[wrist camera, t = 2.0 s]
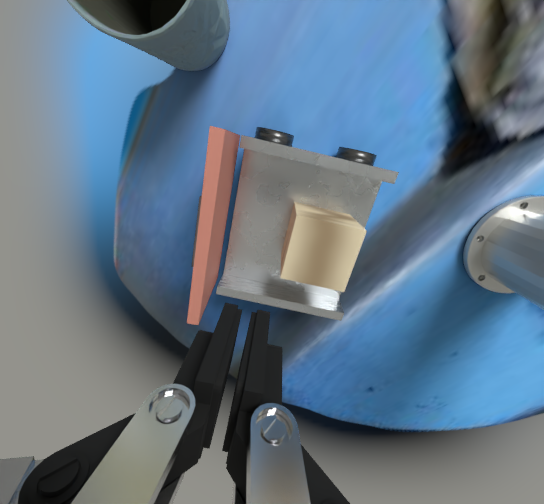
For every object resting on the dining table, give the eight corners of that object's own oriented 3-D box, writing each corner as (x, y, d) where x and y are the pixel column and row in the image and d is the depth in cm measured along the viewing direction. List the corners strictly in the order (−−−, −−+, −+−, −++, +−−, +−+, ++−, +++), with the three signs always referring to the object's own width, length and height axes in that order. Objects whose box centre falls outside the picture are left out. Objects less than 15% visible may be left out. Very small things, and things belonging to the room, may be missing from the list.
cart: (374, 156, 30) (404, 158, 22) (327, 292, 36) (338, 329, 29) (254, 127, 29) (244, 119, 22) (229, 271, 36) (214, 303, 28)
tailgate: (240, 135, 25) (225, 129, 17) (217, 277, 31) (198, 325, 23) (225, 132, 25) (203, 124, 17) (206, 275, 31) (182, 322, 23)
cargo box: (349, 214, 27) (366, 230, 22) (332, 265, 29) (343, 291, 24) (294, 201, 27) (296, 214, 21) (281, 253, 29) (280, 278, 24)
